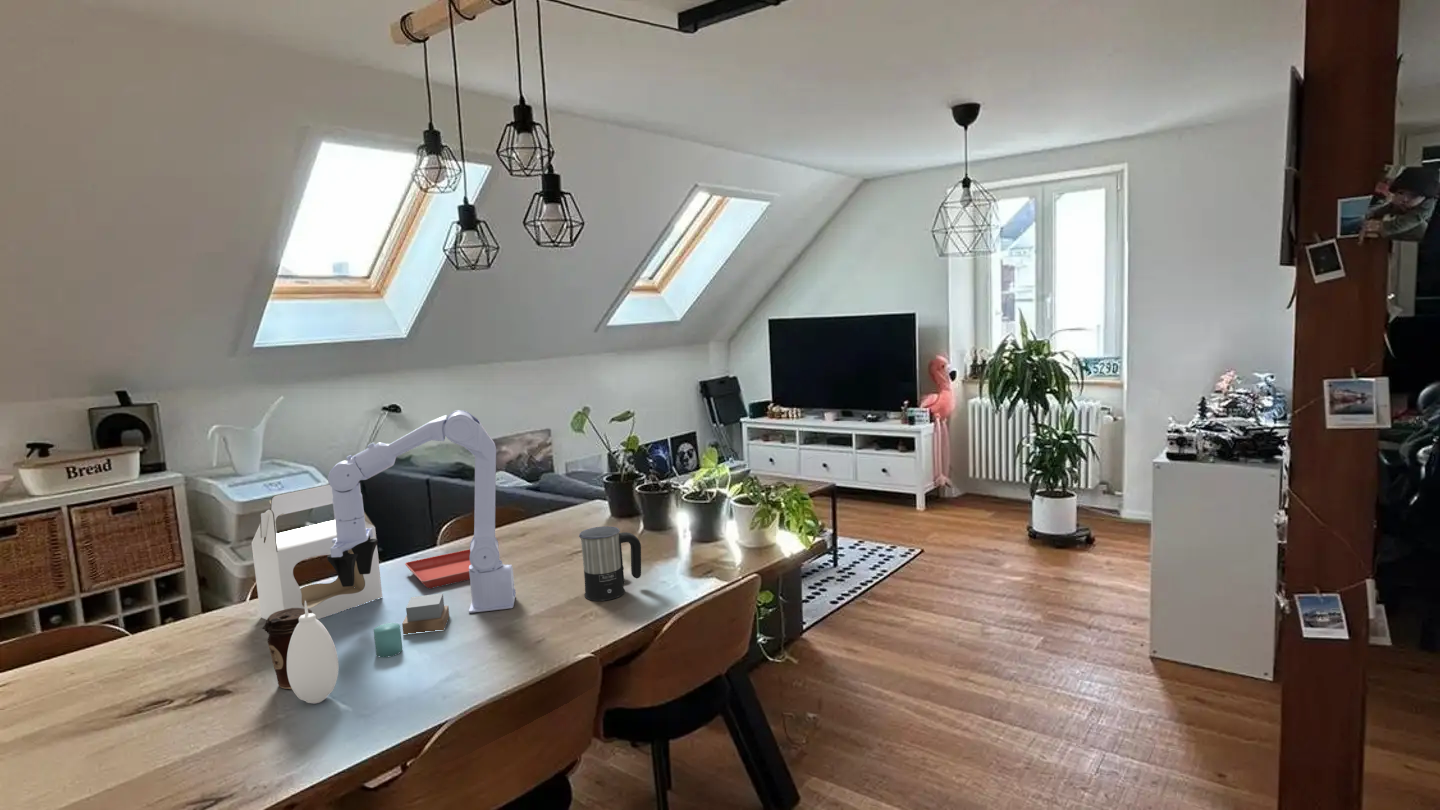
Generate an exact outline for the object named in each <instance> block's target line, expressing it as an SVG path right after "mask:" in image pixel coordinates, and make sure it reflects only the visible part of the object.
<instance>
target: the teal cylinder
mask: <svg viewBox="0 0 1440 810" xmlns="http://www.w3.org/2000/svg"><path fill="white" fill-rule="evenodd" d="M401 630H402V629H401V624H400V623H397V622H388V623H384V624H381V625H378V626H376V627H375V628H374V629H373V636H374V637H373V638H374V646H375V655H377V656H376V657H378V656H380V657H379V658H389V657H388V656H391V657H393V655H394V656H396V655H395V654H397V655H399V654H400V653H399V652H401V651H402V652H403V650H402V648H403V642H402V631H401ZM398 653H399V654H398Z"/></svg>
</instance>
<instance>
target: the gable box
mask: <svg viewBox="0 0 1440 810" xmlns="http://www.w3.org/2000/svg"><path fill="white" fill-rule="evenodd" d="M332 499H333V494H332V487H331V486H330V484H329V483H328V484H324V485H321V486H316V487H311V488H305V489H300V490H295V491H289V492H284V493H281V494H280V493H279V494H276V495H273V496H272V497H271V498H270V499H269V500H268V503H269V506H270V507H269V508H270V509H267V510H266V511H265V512H260V513H259V520H260V521H259V522H260V523H259V524H258V527H257V529H256V531H255V534H254V536H253V539H252V540H251V549H252V556H253V557H252V558H253V566H254V573H255V581H256V582H255V583H256V590H257V599H258V605H259V606H258V607H259V613H260V614H259V615H260V618H261V619H263V620H265V621H266V620H267V619H268V617H269V616H270V615H271V614H273V613H275V612H277V611H281V610H285V609H289V608H303V609H305V604H304V603H305V601H306V603H307V608H308V609H310V610H311V611H312V613H313V614H315V615H316V618H317V620H320V619H324V618H326V616H327V617H330V616H333V615H336V614H339V613H341V612H340V611H342V612H345V611H347V610H346V609H348V610H350V609H349V608H351V609H353V608H352V607H354V608H356V606H357V607H359V606H358V605H360V606H362V605H361V604H363V605H365V604H364V603H366V602H369V601H372V600H375V599H378V598H381V597H382V598H383V590H382V588H383V587H382V581H381V569H380V563H379V561H380V560H379V553H378V551H379V550H378V544H377V545H376V547H375V550H374V553H373V558H372V565H371V571H370V574H359V571H358V568H357V563H356V562H355V568H354V585H353V586H349V587H343V586H342V584H341V582H340V579H339V577H338V576H337V578H336V579H335V580H334V581H332V582H328V583H323V582H322V583H313V584H309V585H305V586H303V587H300V585H299V584H298V582H297V580H296V579H295V576H294V568H295V567H296V565H297V564H298V563H300V562H301V561H304V560H306V559H308V558H312V557H316V556H326V555H327V556H328V555H330V554H331V550H330V548H332V547H333V546H334V544H335V543H332V539H334V538H337V534H336V526H335V519H333V520H329V521H323V522H320V523H317V524H311V525H309V526H303V527H300V528H294V529H291V530H287V531H282V532H279V533H278V531H277V524H276V521H277V518H278V516H279V517H282V516H284V515H287V514H292V513H297V512H300V511H305V510H311V509H314V508H319V507H325V506H328V505H333V500H332ZM364 516H365V525H366V529H368V528H372V532H373V537H371V538H370V539H377V534H376V533H377V532H376V525H375V524H374V523H373V522H372V520H371V518H370V517H369V516H368V514H367V513H366V512H365V510H364ZM348 553H350V554H354V553H353V551H352V549H350V550H348ZM375 601H376V600H375ZM372 602H373V601H372ZM369 603H370V602H369ZM366 604H367V603H366ZM344 610H345V611H344ZM338 612H339V613H338ZM335 613H336V614H335ZM332 614H333V615H332Z"/></svg>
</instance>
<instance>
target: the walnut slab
mask: <svg viewBox="0 0 1440 810" xmlns="http://www.w3.org/2000/svg"><path fill="white" fill-rule="evenodd" d="M448 618H450V609H449V605H444V609H443V612H442V615H441V618H434V619H427V620H419V621H411V622H408V621H407V615H405V617H404V619H403V622H402V624H401V625H402V635H403V634H408V633H416V632H425V631H435V630H444V631H445V629H446V627H445V626H447V624H446V623H448V621H449V619H448ZM447 620H448V621H447ZM444 628H445V629H444Z"/></svg>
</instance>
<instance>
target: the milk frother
mask: <svg viewBox="0 0 1440 810" xmlns="http://www.w3.org/2000/svg"><path fill="white" fill-rule="evenodd" d="M578 538H579V539H580V542H581V552H582V553H581V555H582V566H583V577H584V591H585V592H584V597H585V599H587V600H590V601H594V602H595V601H596V602H603V601H610V600H614V599H617V598H619V597H621V596H623V595H624V594H625V591H626V590H625V588H624V585H625V575H624V573H625V572H624V561H623V552H622V544H623V543H628V544H629V545H630V573H631V575H632V577H633V578H634V579H640V578H641V576H642V544H641V542H640V541H641V540H639V537H637V536H636V535H635V534H633V533H630V532H627V531H625V532H621V529H620V528H618V527H616V526H597V527H591V528H590V527H589V528H586V529H585V530H581V531H580V533H579V535H578Z"/></svg>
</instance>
